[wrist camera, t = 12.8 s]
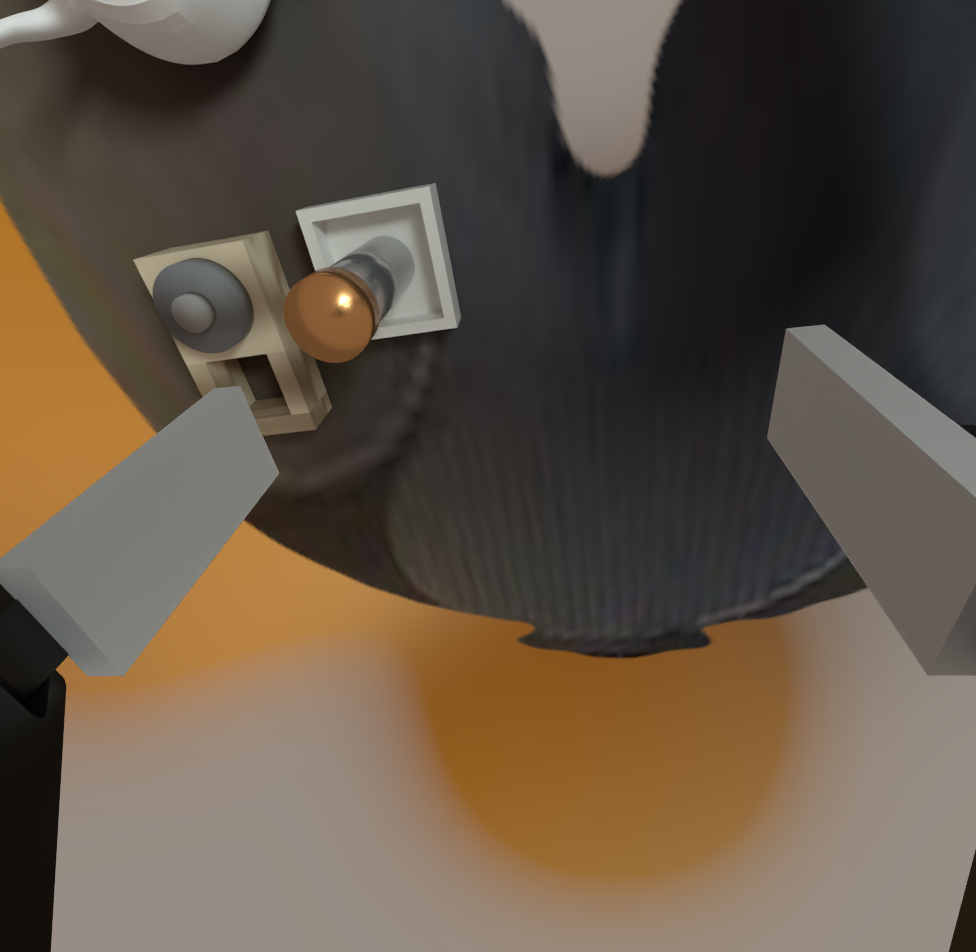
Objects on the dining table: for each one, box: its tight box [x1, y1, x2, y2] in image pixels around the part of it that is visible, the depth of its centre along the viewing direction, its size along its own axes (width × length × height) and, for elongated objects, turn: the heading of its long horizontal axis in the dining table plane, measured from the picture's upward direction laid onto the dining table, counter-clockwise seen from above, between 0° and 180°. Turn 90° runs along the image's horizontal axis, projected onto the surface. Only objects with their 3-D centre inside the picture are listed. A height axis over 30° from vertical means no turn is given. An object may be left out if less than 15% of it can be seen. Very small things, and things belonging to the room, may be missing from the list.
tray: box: [296, 183, 461, 340], centre depth 36 cm, size 9×9×2 cm
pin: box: [284, 235, 415, 363], centre depth 31 cm, size 4×4×13 cm
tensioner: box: [134, 231, 332, 436], centre depth 38 cm, size 14×8×7 cm, turn 9°
